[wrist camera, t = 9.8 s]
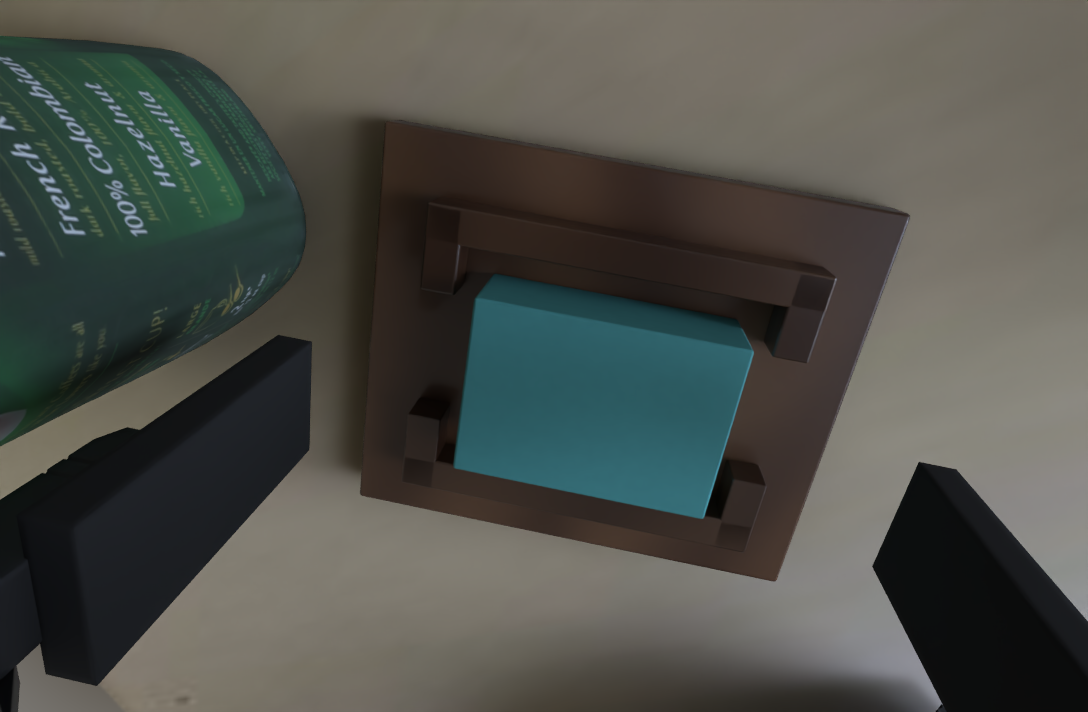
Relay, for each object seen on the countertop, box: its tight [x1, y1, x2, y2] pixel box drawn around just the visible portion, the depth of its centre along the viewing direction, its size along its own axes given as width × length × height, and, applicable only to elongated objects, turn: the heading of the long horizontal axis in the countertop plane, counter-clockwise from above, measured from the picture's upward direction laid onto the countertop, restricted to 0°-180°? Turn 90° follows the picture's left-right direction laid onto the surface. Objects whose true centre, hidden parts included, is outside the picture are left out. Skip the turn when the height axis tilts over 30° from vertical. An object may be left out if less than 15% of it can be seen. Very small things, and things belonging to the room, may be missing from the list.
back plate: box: [360, 120, 910, 581], centre depth 19 cm, size 14×12×2 cm
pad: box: [453, 274, 754, 519], centre depth 18 cm, size 7×5×3 cm
